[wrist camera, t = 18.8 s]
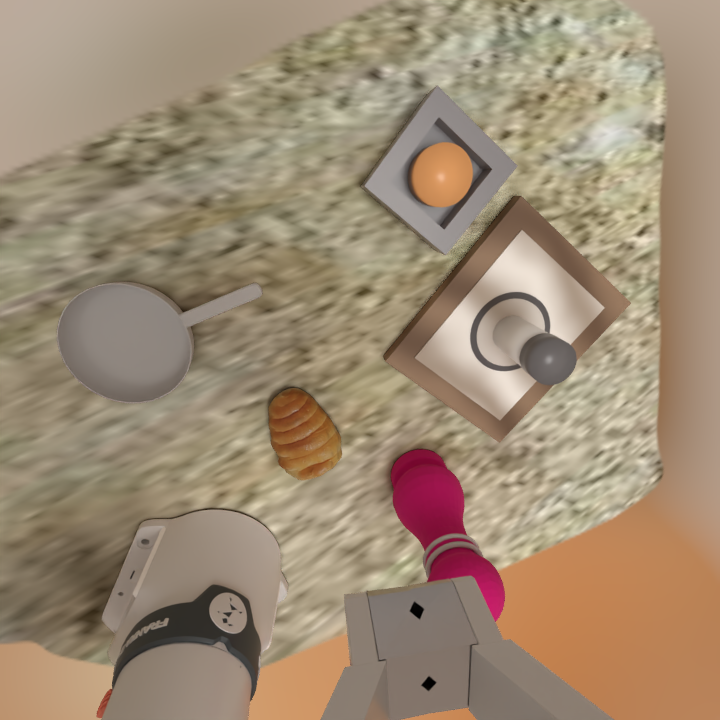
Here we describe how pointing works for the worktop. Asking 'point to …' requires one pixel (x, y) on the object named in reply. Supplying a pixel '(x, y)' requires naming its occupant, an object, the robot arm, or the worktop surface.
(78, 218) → the worktop surface
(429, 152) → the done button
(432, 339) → the board
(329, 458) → the pastry
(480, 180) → the button base
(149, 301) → the small pan
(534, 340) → the marker
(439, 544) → the pepper mill
